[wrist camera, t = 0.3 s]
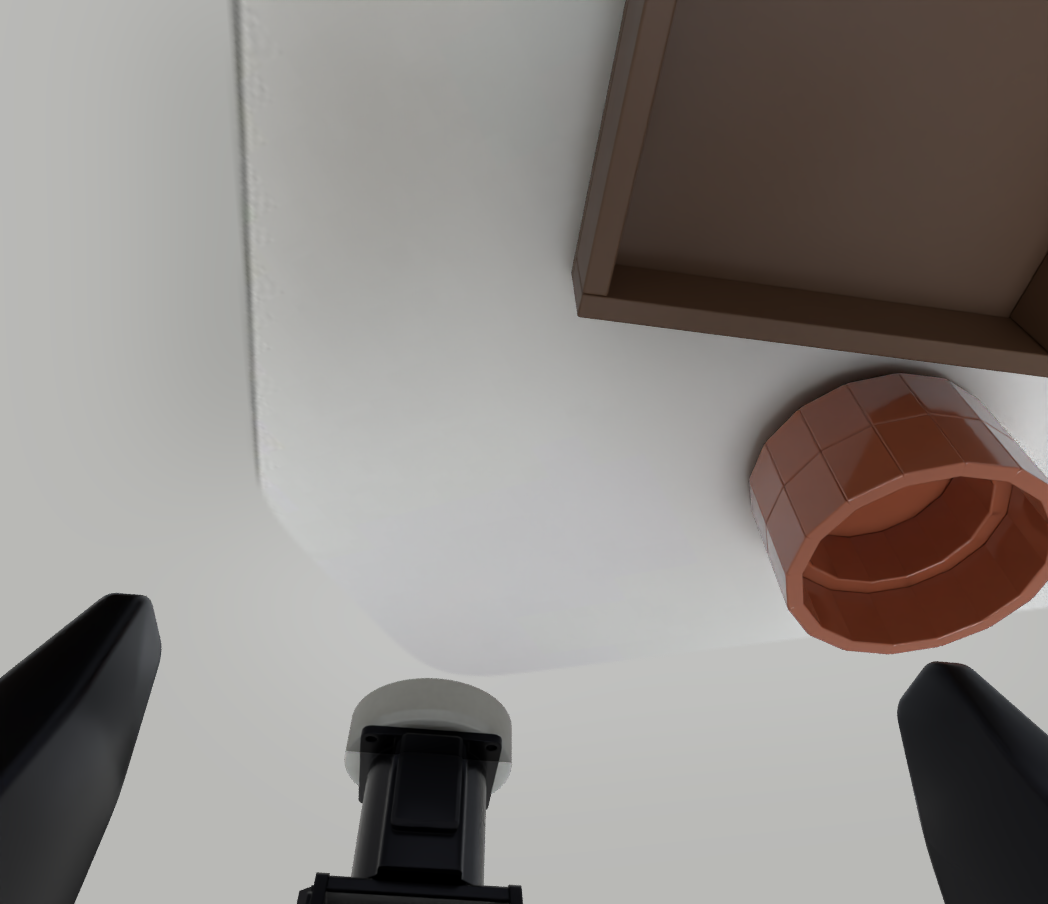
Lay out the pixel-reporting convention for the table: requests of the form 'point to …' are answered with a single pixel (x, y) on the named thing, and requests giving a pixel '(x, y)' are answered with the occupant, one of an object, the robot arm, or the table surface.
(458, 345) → the table surface
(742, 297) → the tray
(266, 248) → the table surface
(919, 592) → the plant pot
